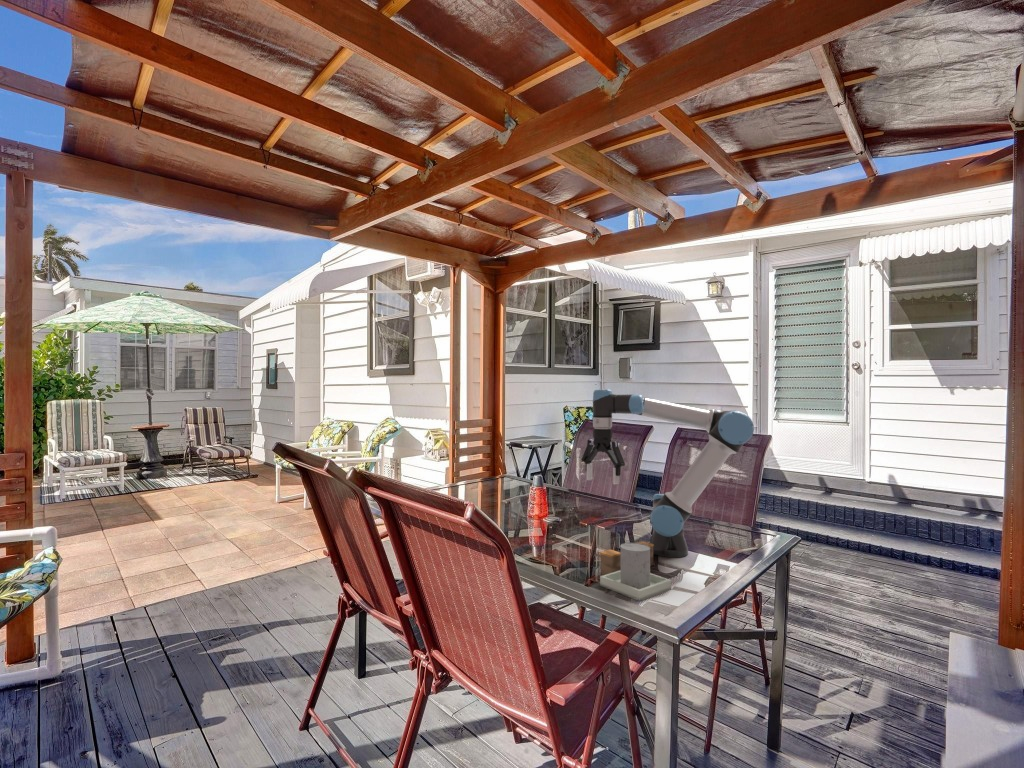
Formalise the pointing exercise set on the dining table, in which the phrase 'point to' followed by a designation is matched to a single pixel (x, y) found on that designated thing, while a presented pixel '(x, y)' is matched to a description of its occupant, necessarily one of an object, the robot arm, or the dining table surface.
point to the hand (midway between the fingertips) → (602, 482)
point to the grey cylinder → (635, 565)
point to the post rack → (617, 559)
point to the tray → (655, 588)
